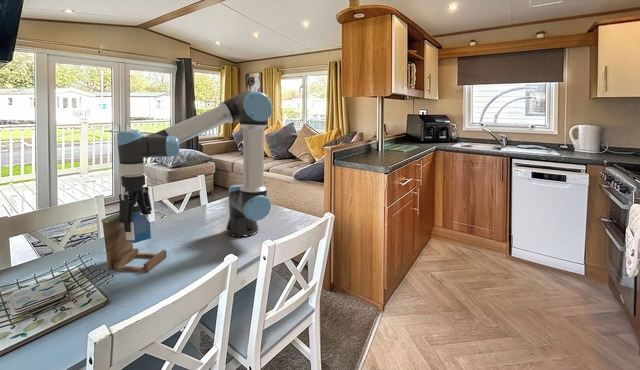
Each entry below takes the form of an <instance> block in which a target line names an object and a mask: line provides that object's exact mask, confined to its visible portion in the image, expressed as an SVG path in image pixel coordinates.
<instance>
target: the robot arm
mask: <svg viewBox="0 0 640 370" xmlns="http://www.w3.org/2000/svg"><path fill="white" fill-rule="evenodd" d="M272 113H273V103H272V100H271V99H270V98H269V96H267V94H266V93H263V92H261V91H256V90H255V91H248V92H247V91H245V92H240V93H238V94H236V95H234V96H232V97H230V98H228V99H226V100H224V101H221V102H220V104H219V106H216V107H214V108H212V109H209V110H206V111H205V112H204V111H203V112H201V113H200V114H199V113H198V114H197V115H195V116H193V117H190V118H188V119H185V120H183V121H181V122H178V123H175V124H174V125H173V124H172V125H171V126H168V127H167V128H163V129H162V130H159V131H157V132H151V133H149V134H147V135H146V136H143V134H142V132H141V131H140V130H121V131H118V133H117V135H116V137H117V151H118V160H119V161H118V162H119V168H120V175H121V176H120V182H121V183H120V184H121V186H122V187H123V188H124V193H122V194H121V193H120V194H118V199H119V223H124V227H125V233H126V240H135V237H134V226H133V222H131V221H132V216H133V210H134V207H135V206H136V205H137V206H139V207H140V210H141V215H143V216H145V217H146V218H147V220H148V221H149V222H150V219H149V215H152V209H153V208H152V203H151V199H150V194H149V187H148V186H145V185H146V175H145V173H146V172H145V161H144V159H145V158H146V159H148V158H171V157H178V156H179V154H180V144H182V143H184V142H186V141H189V140H191V139H194V138H196V137H198V136H200V135H202V134H204V133H207V132H208V131H211V130H213V129H215V128H218V127H220V126H223V125H225V124H227V123H228V124H233V123H236V122H238V121H239V126H240V127H241V128H242V134H243V135H242V136H243V137H242V140H243V141H242V142H243V144H242V146H243V151H242V152H243V153H242V155H243V157H242V160H243V162H242V163H243V165H242V166H243V167H242V168H243V173H242V174H243V175H242V178H243V179H242V181H243V183H242V184H241V183H239V184H235V185H230V186H229V187H228V191H227V192H228V193H227V194H228V206H229V207H228V209H229V212H228V213H229V216H228V217H229V218H228V220H227V223H226V228H225V233H226V232H227V233H228V234H230V235H234V236H244V235H250V234H253V233H255V232H257V231H258V232H259V223H258V222H259V221H262V220H263V219H265V218H266V217H267V216H268V215H269V214H270V212H271V208H272V204H271V200H270V199H269V198H268V188H267V187H266V186H265V184H264V176H265V175H264V171H265V169H264V166H265V165H264V163H265V162H264V159H265V158H264V157H265V154H264V153H265V149H264V148H265V129H266V128H267V127H268V124H269V118H270V117H271V116H272ZM257 221H258V222H257ZM258 232H257V233H258ZM227 233H226V234H227ZM228 234H227V235H228ZM230 235H229V236H230ZM234 236H233V237H234Z"/></svg>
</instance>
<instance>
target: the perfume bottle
mask: <svg viewBox="0 0 640 370" xmlns="http://www.w3.org/2000/svg"><path fill="white" fill-rule="evenodd" d="M141 214H142V213H141V210H140V207H139V206H138V205H137V206H136V205H134V210H133V216H132V221H131V222H133V226H134V237H135V240H128V241H130V242H133V244H136V243H140V242H143V241H146V240H150V239H152V235H151V222H150V220H149V221H148V220H147V218H146V217H145V216H143V215H141ZM124 230H125V227H124ZM125 239H126V233H125Z"/></svg>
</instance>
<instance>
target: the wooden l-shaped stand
mask: <svg viewBox="0 0 640 370" xmlns="http://www.w3.org/2000/svg"><path fill="white" fill-rule="evenodd" d="M100 221H101V224H102V230H103V236H104V237H103V238H104V239H103V240H104V246H105V254H106V262H107V270H108V271H118V272H133V273H134V272H137V273H150V271H152V270H153V269H154V268H155V267H156V266H158V265H159V264H160V263H162V262H163V261H164V260H166V258H167V256H168V255H167V254H168V253H167V250H166V249H162V250H160V251H159V252H158V253H147V252H145V253H144V252H139V248H134V245H133V244H134V243H133V242H130V241H128V240H126V239H125V230H124V223H119V212H116V213H114V214H112V215H109V216H107V217H104V218H102V219H101V220H100ZM136 258H145V259H146V258H147V259H149V260H148V261H146V262H144V264H143V266H129V265H128V264H129V263H130V262H133V261H134V260H135V259H136Z"/></svg>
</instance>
